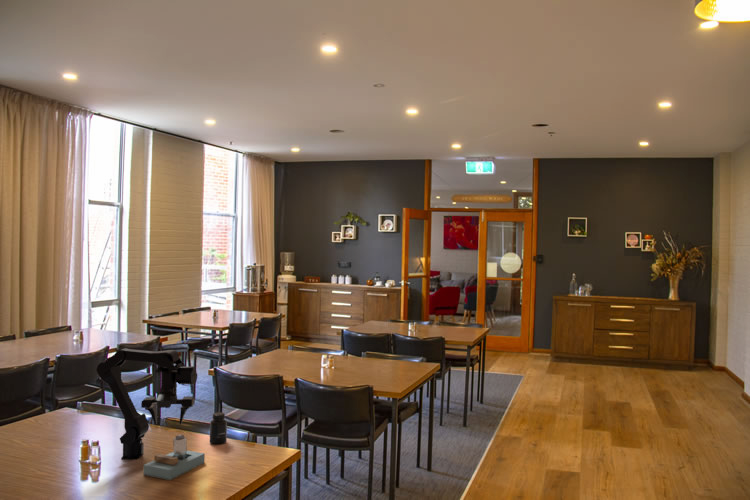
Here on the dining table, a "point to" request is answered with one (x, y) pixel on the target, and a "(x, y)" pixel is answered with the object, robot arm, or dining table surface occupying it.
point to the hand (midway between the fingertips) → (168, 424)
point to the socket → (174, 466)
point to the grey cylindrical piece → (180, 447)
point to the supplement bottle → (218, 429)
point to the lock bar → (166, 459)
